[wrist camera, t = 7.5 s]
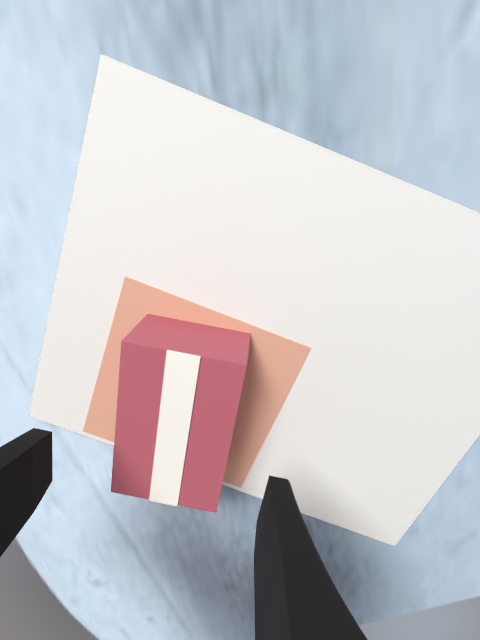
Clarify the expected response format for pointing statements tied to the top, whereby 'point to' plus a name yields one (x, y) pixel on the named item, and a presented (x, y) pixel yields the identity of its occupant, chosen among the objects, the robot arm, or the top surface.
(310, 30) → the top surface
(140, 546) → the top surface
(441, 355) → the mat
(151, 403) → the card box
